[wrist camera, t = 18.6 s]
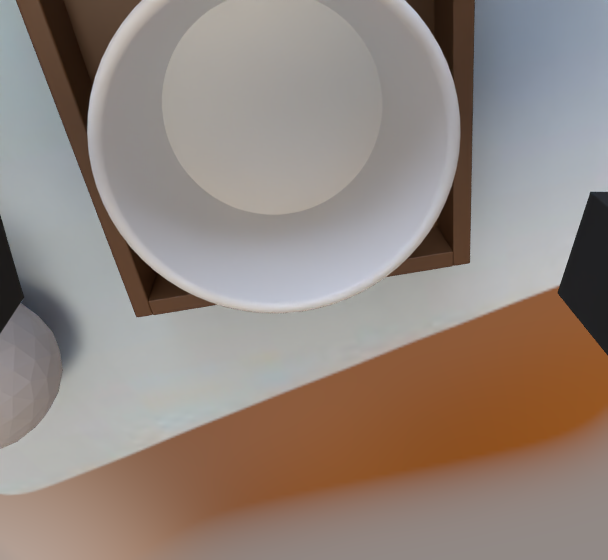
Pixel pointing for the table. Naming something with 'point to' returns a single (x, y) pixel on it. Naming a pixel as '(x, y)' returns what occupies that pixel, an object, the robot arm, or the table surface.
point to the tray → (74, 114)
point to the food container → (273, 144)
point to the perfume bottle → (26, 374)
